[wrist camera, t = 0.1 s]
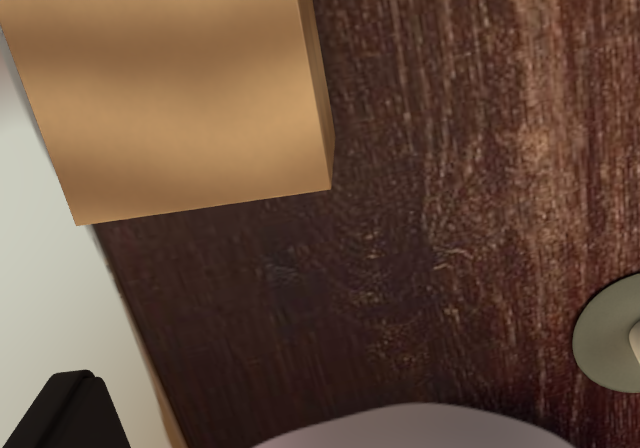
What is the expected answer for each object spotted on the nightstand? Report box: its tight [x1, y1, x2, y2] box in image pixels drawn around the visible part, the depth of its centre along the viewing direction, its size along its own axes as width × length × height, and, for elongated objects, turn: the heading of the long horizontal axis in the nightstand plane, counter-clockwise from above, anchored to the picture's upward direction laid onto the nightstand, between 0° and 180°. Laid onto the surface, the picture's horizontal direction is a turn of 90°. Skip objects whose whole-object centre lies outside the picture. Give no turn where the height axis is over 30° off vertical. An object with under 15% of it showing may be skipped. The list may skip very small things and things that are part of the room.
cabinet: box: [0, 0, 335, 226], centre depth 24 cm, size 13×10×7 cm
